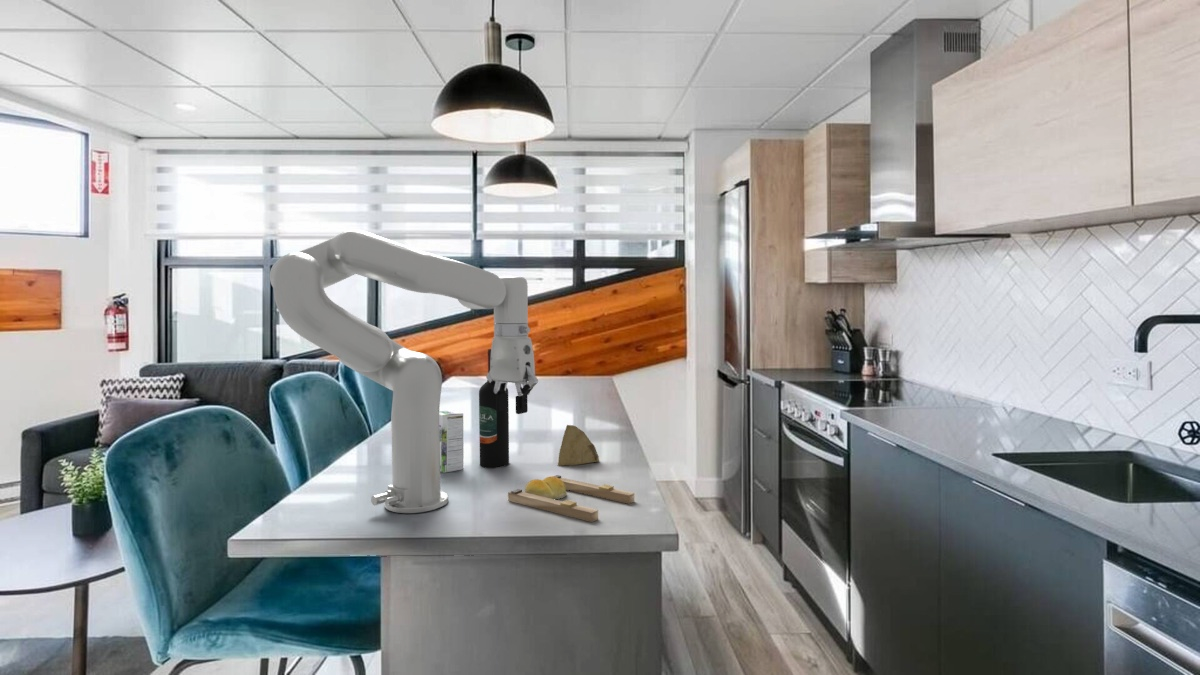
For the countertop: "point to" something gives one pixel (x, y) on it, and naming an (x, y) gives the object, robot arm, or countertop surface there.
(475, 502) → the countertop surface
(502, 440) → the wine bottle
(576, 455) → the rock
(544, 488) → the bread roll
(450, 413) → the syrup box
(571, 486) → the slot rails
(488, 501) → the countertop surface
